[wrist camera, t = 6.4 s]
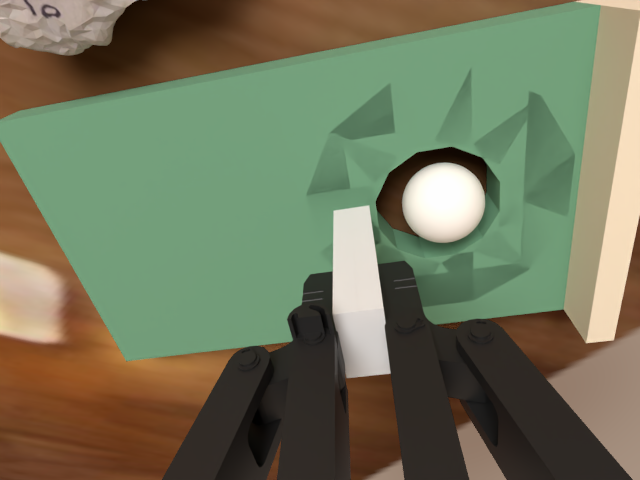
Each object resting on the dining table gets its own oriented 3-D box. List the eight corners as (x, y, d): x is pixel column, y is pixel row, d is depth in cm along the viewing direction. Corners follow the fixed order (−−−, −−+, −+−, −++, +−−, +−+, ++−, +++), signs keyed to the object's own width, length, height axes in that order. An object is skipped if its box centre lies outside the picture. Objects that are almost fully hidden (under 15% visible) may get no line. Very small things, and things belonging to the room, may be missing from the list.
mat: (139, 336, 27) (108, 395, 24) (19, 110, 20) (-53, 143, 16) (570, 282, 24) (613, 340, 21) (607, -5, 17) (683, 2, 13)
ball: (392, 232, 22) (431, 268, 19) (384, 165, 20) (426, 192, 17) (454, 210, 23) (502, 241, 20) (452, 143, 21) (504, 166, 18)
